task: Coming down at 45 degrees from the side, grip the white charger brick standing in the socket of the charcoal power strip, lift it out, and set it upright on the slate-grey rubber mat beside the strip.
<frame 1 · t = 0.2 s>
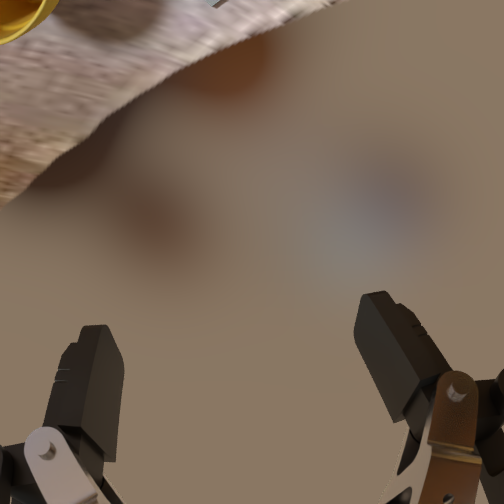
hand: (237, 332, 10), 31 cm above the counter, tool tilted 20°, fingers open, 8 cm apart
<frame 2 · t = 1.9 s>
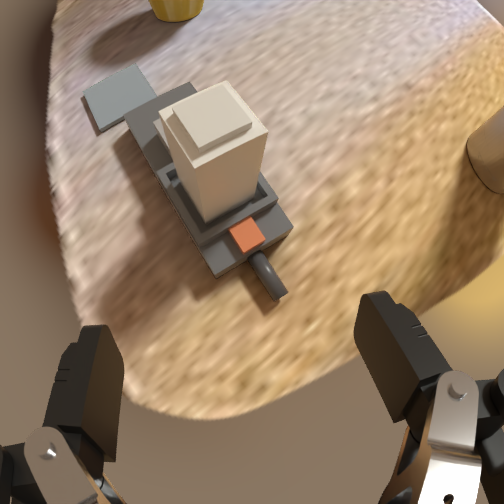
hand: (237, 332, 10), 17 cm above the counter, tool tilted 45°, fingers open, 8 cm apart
charger: (216, 189, 26), point 2 cm above the counter, touching power strip
power strip: (200, 175, 29), on the counter
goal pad: (119, 96, 31), on the counter
plant pot: (179, 10, 35), on the counter
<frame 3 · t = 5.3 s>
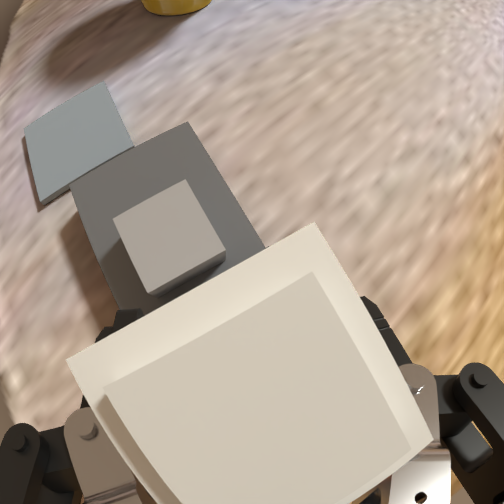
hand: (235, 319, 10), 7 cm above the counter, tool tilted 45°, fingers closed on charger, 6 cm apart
charger: (237, 359, 14), point 3 cm above the counter, touching gripper, power strip
power strip: (207, 305, 17), on the counter
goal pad: (74, 139, 19), on the counter
plant pot: (179, 0, 23), on the counter
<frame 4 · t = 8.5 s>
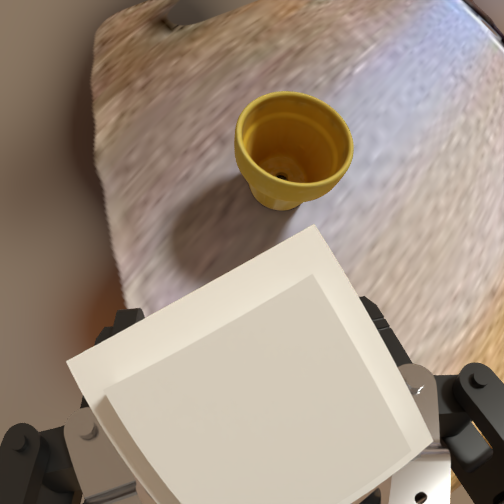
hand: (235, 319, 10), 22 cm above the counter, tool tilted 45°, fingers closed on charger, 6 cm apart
charger: (238, 359, 14), point 18 cm above the counter, touching gripper
plant pot: (278, 182, 35), on the counter
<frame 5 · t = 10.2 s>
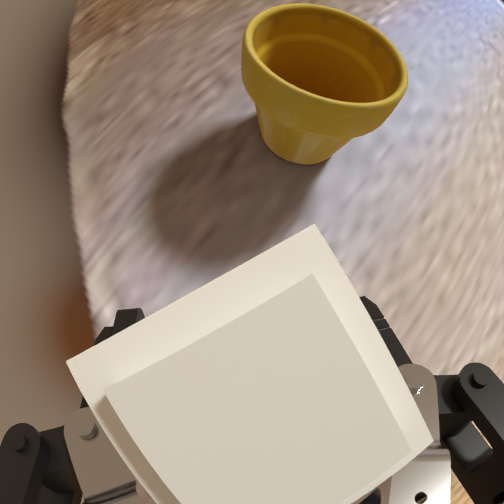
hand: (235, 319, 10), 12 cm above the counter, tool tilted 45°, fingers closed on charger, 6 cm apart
charger: (238, 359, 14), point 7 cm above the counter, touching gripper
plant pot: (299, 131, 25), on the counter
when the fingers open (7 cm above the counter, at t = 11.7 s): charger drops 2 cm, resting on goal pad.
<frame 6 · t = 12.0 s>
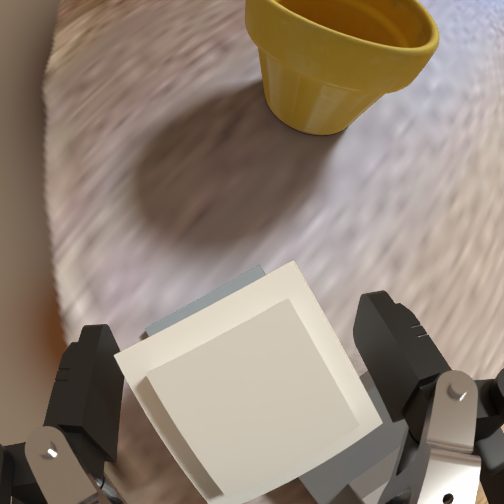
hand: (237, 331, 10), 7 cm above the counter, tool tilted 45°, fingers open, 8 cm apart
charger: (237, 357, 16), point 1 cm above the counter, touching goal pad
power strip: (386, 494, 15), on the counter
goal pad: (235, 354, 17), on the counter
plant pot: (310, 99, 21), on the counter
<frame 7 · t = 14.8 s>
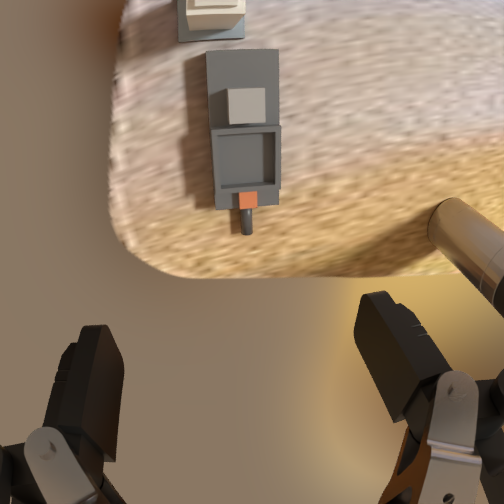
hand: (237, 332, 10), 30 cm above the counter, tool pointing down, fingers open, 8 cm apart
charger: (210, 11, 26), point 1 cm above the counter, touching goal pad
power strip: (242, 127, 35), on the counter
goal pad: (210, 11, 27), on the counter
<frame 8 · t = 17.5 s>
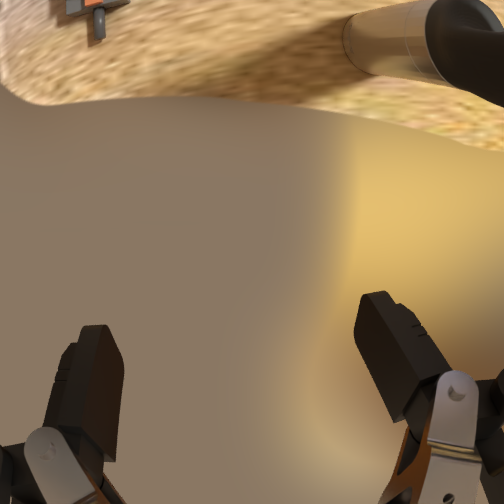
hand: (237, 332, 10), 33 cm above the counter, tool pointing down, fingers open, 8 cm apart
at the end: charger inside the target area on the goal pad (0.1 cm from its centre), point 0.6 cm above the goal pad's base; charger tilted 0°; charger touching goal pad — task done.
